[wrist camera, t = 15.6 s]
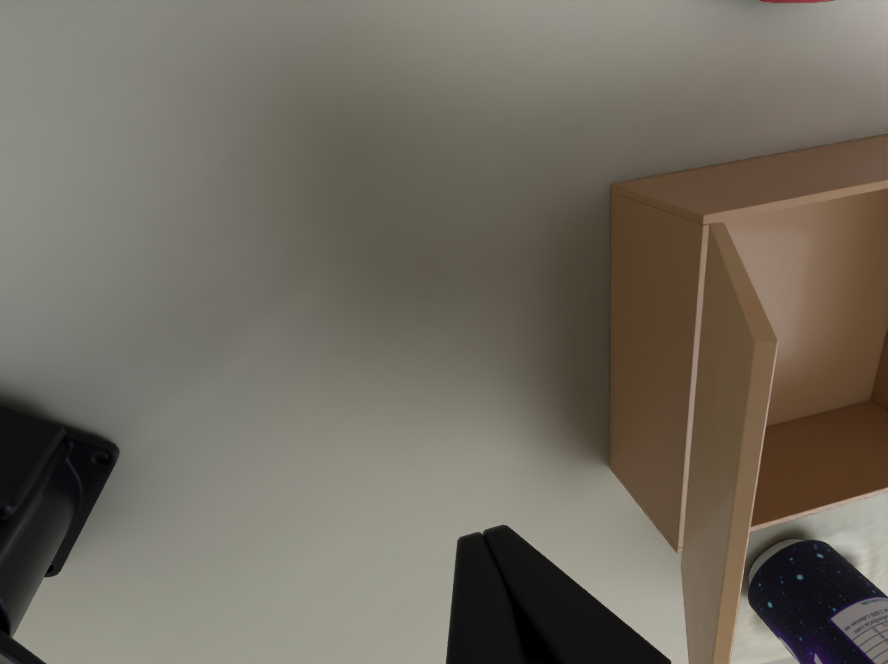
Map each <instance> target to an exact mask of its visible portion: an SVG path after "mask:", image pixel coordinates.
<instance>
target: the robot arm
mask: <svg viewBox="0 0 888 664" xmlns="http://www.w3.org/2000/svg"><path fill="white" fill-rule="evenodd" d="M98 453H104V454H106V455H108V458H102V457H100V456H98ZM119 454H120V452H119V448H118V447H117V446H116V445H115V444H113V443H111V442H109V441H106V440H103V439H99V438H96V437H93V436H90V435H87V434H84V433H81V432H78V431H75V430H72V429H68V428H65V427H62V426H60V425H58V424H55V423H52V422H49V421H45V420H42V419H39V418H36V417H33V416H30V415H27V414H24V413H21V412H18V411H15V410H11V409H8V408H5V407H2V406H0V664H46V663H45V662H43V661H42V660H41V659H39V658H38V657H37V656H35V655H34V654H33V653H31V652H30V651H29V650H27V649H26V648H25V647H23V646H22V645H21V644H19V643H18V642H16V641H15V640H14V639H12V637H13V635H14V633H15V632H16V630H17V628H18V626H19V624H20V622H21V620H22V618H23V616H24V614H25V612H26V610H27V609H28V607H29V605H30V603H31V601H32V599H33V597H34V595H35V593H36V591H37V589H38V587H39V585H40V584H41V582H42V580H43V578H44V577H53V576H55V575H57V574H58V573H59V572H60V571H61V569H62V567H63V565H64V563H65V561H66V559H67V557H68V555H69V553H70V551H71V549H72V547H73V545H74V544H75V542H76V540H77V538H78V536H79V534H80V532H81V530H82V528H83V526H84V524H85V522H86V520H87V518H88V516H89V514H90V512H91V510H92V508H93V506H94V505H95V503H96V501H97V499H98V497H99V495H100V493H101V491H102V489H103V487H104V485H105V483H106V481H107V479H108V477H109V475H110V473H111V471H112V469H113V467H114V465H115V464H116V462H117V459H118V457H119ZM50 564H52V565H50ZM446 664H671V661H670V660H669V659H668V658H667V657H666V656H665V655H663V654H662V653H661V652H660V651H658V650H657V649H656V648H655V647H654V646H652V645H651V644H650V643H649V642H648V641H646V640H645V639H644V638H643V637H642V636H640V635H639V634H638V633H637V632H635V631H634V630H633V629H632V628H631V627H629V626H628V625H627V624H626V623H625V622H623V621H622V620H621V619H620V618H619V617H617V616H616V615H615V614H614V613H612V612H611V611H610V610H609V609H608V608H606V607H605V606H604V605H603V604H602V603H600V602H599V601H598V600H597V599H596V598H594V597H593V596H592V595H591V594H589V593H588V592H587V591H586V590H585V589H583V588H582V587H581V586H580V585H579V584H577V583H576V582H575V581H574V580H573V579H571V578H570V577H569V576H568V575H566V574H565V573H564V572H563V571H562V570H560V569H559V568H558V567H557V566H556V565H554V564H553V563H552V562H551V561H550V560H548V559H547V558H546V557H545V556H543V555H542V554H541V553H540V552H539V551H537V550H536V549H535V548H534V547H533V546H531V545H530V544H529V543H528V542H527V541H525V540H524V539H523V538H522V537H520V536H519V535H518V534H517V533H516V532H514V531H513V530H512V529H511V528H510V527H508V526H507V525H500V526H496V527H493V528H490V529H486V530H485V531H484V532H483V534H481V533H480V532H476V533H472V534H469V535H466V536H462V537H460V538H459V539H458V541H457V550H456V561H455V572H454V583H453V593H452V604H451V615H450V626H449V636H448V647H447V658H446Z"/></svg>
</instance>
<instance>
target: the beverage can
mask: <svg viewBox="0 0 888 664" xmlns="http://www.w3.org/2000/svg"><path fill="white" fill-rule="evenodd" d="M749 584H750V585H749V590H748V600H749V604H750V606H751V607H752V608H753V609H754V611H755V612H756V613H757V614H758V615H759V617H760V618H761V619H762V620H763V621H764V622H765V624H766V625H767V626H768V627H769V628H770V629H771V631H772V632H773V633H774V634H775V635H776V637H777V638H778V639H779V640H780V641H781V642H782V644H783V645H784V646H785V647H786V648H787V649H788V651H789V652H790V653H791V654H792V655H793V657H794V658H795V659H796V660H797V661H798V662H799V663H800V664H888V597H887V596H886V595H885V594H884V593H883V592H882V591H881V590H879V589H878V588H877V587H876V586H875V585H874V584H873V583H872V582H870V581H869V580H868V579H867V578H866V577H865V576H864V575H863V574H861V573H860V572H859V571H858V570H857V569H856V568H855V567H853V566H852V565H851V564H850V563H849V562H848V561H847V560H846V559H844V558H843V557H842V556H841V555H840V554H839V553H838V552H837V551H835V550H834V549H833V548H832V547H831V546H830V545H828V544H827V543H825V542H822V541H817V540H800V539H789V540H785V541H782V542H780V543H777V544H775V545H774V546H772V547H770V548H769V549H767V550H766V551H765V552H764V553H763V554H761V555H760V556H759V558H758V559H757V560H756V561H755V563H754V564H753V566H752V568H751V570H750V573H749Z"/></svg>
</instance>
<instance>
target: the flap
mask: <svg viewBox="0 0 888 664" xmlns="http://www.w3.org/2000/svg"><path fill="white" fill-rule="evenodd" d="M778 343H779V341H778V338H777V336H776V334H775V332H774V330H773V328H772V325H771V323H770V321H769V319H768V317H767V314H766V312H765V310H764V308H763V306H762V304H761V301H760V299H759V297H758V295H757V293H756V290H755V288H754V286H753V284H752V282H751V280H750V277H749V275H748V273H747V271H746V269H745V266H744V264H743V262H742V260H741V258H740V255H739V253H738V251H737V249H736V247H735V245H734V242H733V240H732V238H731V236H730V234H729V231H728V229H727V227H726V225H725V223H723V222H721V223H710V224H709V234H708V246H707V258H706V270H705V282H704V294H703V306H702V318H701V330H700V342H699V354H698V366H697V378H696V390H695V402H694V415H693V427H692V439H691V451H690V463H689V475H688V487H687V499H686V511H685V523H684V535H683V547H682V559H681V572H682V585H683V597H684V609H685V622H686V634H687V646H688V659H689V664H730V660H731V653H732V646H733V640H734V633H735V627H736V620H737V613H738V607H739V600H740V594H741V587H742V581H743V574H744V567H745V561H746V554H747V548H748V541H749V534H750V528H751V521H752V515H753V508H754V501H755V495H756V488H757V482H758V475H759V468H760V462H761V455H762V449H763V442H764V436H765V429H766V422H767V416H768V409H769V403H770V396H771V389H772V383H773V376H774V370H775V363H776V356H777V350H778Z"/></svg>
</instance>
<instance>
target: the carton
mask: <svg viewBox="0 0 888 664" xmlns="http://www.w3.org/2000/svg"><path fill="white" fill-rule="evenodd" d="M721 222H723V223H725V225H726V227H727V229H728V231H729V234H730V236H731V238H732V240H733V242H734V245H735V247H736V249H737V251H738V253H739V255H740V258H741V260H742V262H743V264H744V266H745V269H746V271H747V273H748V275H749V277H750V280H751V282H752V284H753V286H754V288H755V290H756V293H757V295H758V297H759V299H760V301H761V304H762V306H763V308H764V310H765V312H766V314H767V317H768V319H769V321H770V323H771V325H772V328H773V330H774V332H775V334H776V336H777V338H778V341H779V343H778V350H777V356H776V363H775V370H774V376H773V383H772V389H771V396H770V403H769V409H768V416H767V422H766V429H765V436H764V442H763V449H762V455H761V462H760V468H759V475H758V482H757V488H756V495H755V501H754V508H753V515H752V521H751V528H750V532H753V531H756V530H760V529H763V528H766V527H770V526H773V525H777V524H780V523H783V522H787V521H790V520H794V519H797V518H801V517H804V516H807V515H811V514H814V513H818V512H821V511H825V510H828V509H831V508H835V507H838V506H842V505H845V504H848V503H852V502H855V501H859V500H862V499H866V498H869V497H872V496H876V495H879V494H883V493H886V492H888V134H885V135H880V136H874V137H869V138H863V139H857V140H852V141H846V142H841V143H835V144H830V145H824V146H819V147H813V148H807V149H802V150H796V151H791V152H785V153H780V154H774V155H769V156H763V157H757V158H752V159H746V160H741V161H735V162H730V163H724V164H719V165H713V166H708V167H702V168H696V169H691V170H685V171H680V172H674V173H669V174H663V175H658V176H652V177H646V178H641V179H635V180H630V181H624V182H619V183H613V184H611V346H610V469H611V470H612V472H613V473H614V474H615V475H616V477H617V478H618V479H619V480H620V482H621V483H622V484H623V486H624V487H625V488H626V489H627V491H628V492H629V493H630V494H631V496H632V497H633V498H634V500H635V501H636V502H637V503H638V505H639V506H640V507H641V508H642V510H643V511H644V512H645V513H646V515H647V516H648V517H649V519H650V520H651V521H652V522H653V524H654V525H655V526H656V527H657V529H658V530H659V531H660V533H661V534H662V535H663V536H664V538H665V539H666V540H667V541H668V543H669V544H670V545H671V546H672V548H673V549H674V550H675V552H676V553H681V552H682V547H683V535H684V523H685V511H686V499H687V487H688V475H689V463H690V451H691V439H692V427H693V415H694V402H695V390H696V378H697V366H698V354H699V342H700V330H701V318H702V306H703V294H704V282H705V270H706V258H707V246H708V234H709V224H710V223H721Z"/></svg>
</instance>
